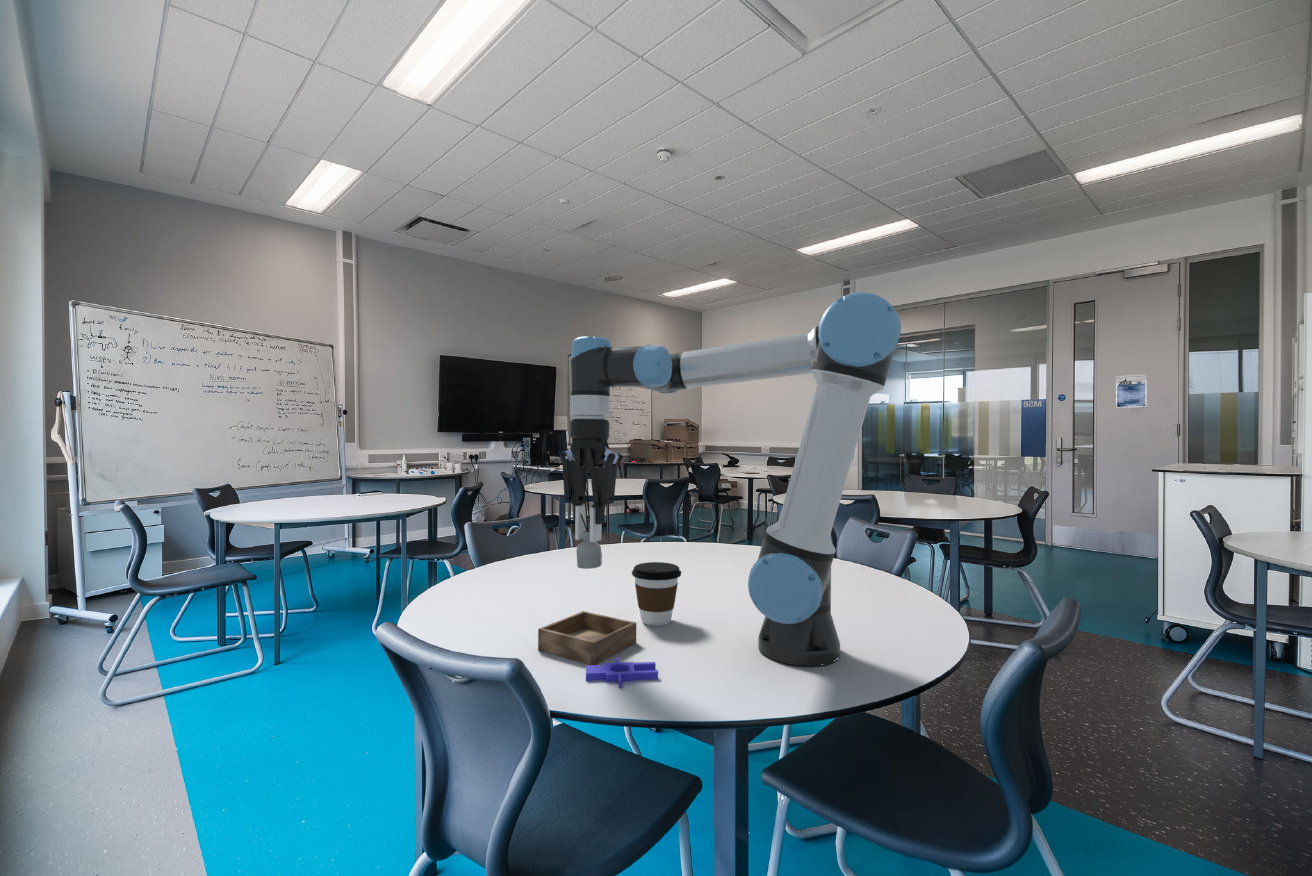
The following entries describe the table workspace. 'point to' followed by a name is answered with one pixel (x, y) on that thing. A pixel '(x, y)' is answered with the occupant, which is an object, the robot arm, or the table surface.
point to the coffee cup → (656, 591)
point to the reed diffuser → (587, 537)
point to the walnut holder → (587, 637)
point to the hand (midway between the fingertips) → (588, 539)
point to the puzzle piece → (628, 671)
